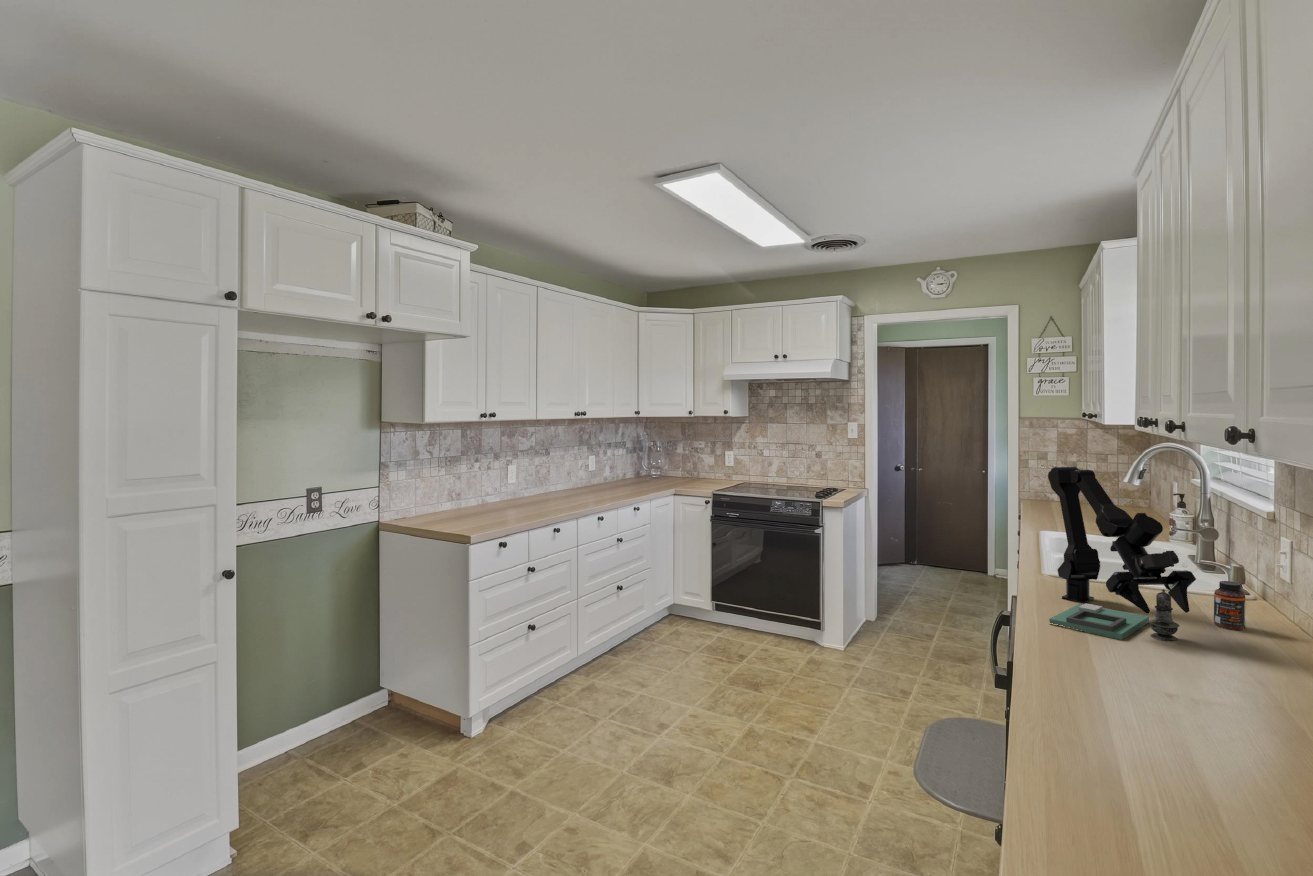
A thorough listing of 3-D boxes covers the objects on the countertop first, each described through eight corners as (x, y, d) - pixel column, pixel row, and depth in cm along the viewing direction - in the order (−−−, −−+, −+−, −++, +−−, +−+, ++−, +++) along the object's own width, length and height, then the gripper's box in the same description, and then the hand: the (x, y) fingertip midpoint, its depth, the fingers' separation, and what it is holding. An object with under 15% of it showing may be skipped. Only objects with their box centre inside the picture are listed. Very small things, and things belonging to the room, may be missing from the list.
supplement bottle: (1217, 629, 161) (1217, 584, 161) (1210, 622, 167) (1210, 578, 166) (1249, 632, 159) (1249, 586, 158) (1240, 624, 164) (1240, 580, 163)
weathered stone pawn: (1168, 633, 159) (1168, 585, 158) (1185, 642, 153) (1185, 592, 153) (1143, 633, 159) (1142, 585, 159) (1159, 642, 154) (1158, 592, 153)
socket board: (1079, 608, 180) (1079, 599, 180) (1149, 622, 168) (1148, 612, 168) (1049, 624, 168) (1049, 614, 168) (1121, 640, 156) (1121, 629, 155)
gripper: (1112, 540, 160) (1145, 596, 149) (1189, 538, 159) (1228, 594, 148) (1092, 564, 168) (1122, 619, 157) (1165, 562, 167) (1200, 617, 157)
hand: (1168, 612), depth 155 cm, fingers open, 9 cm apart
